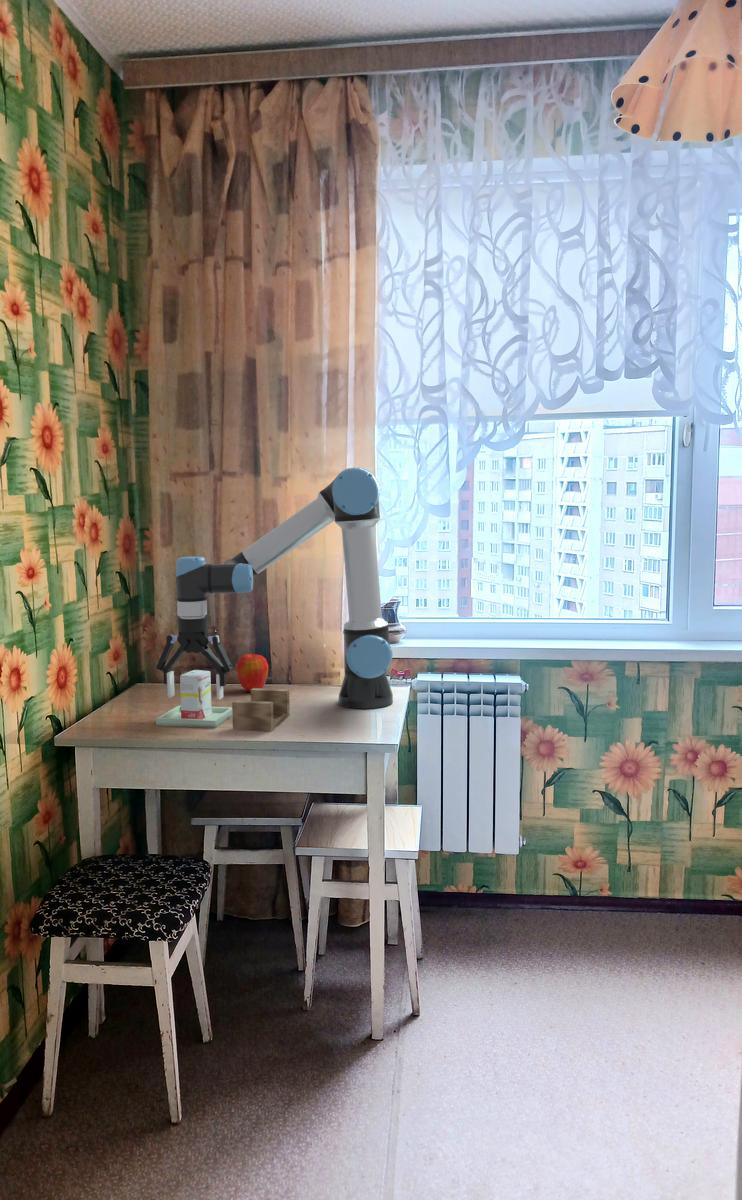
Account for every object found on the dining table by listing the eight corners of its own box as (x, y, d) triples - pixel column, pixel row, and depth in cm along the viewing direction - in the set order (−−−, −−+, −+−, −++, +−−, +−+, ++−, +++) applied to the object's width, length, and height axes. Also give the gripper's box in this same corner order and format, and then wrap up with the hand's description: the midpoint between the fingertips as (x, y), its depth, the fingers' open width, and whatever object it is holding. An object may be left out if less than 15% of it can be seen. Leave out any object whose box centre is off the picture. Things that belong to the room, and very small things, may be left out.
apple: (233, 694, 268) (232, 653, 266) (243, 687, 276) (242, 648, 275) (263, 695, 266) (262, 654, 264) (272, 688, 275) (271, 649, 273)
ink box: (197, 722, 234) (195, 676, 232) (180, 720, 235) (178, 675, 234) (212, 714, 242) (211, 670, 241) (196, 712, 243) (194, 669, 242)
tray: (234, 714, 244) (234, 707, 244) (215, 727, 230) (215, 720, 230) (178, 711, 247) (178, 705, 247) (156, 725, 234) (156, 718, 233)
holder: (289, 715, 242) (289, 689, 241) (271, 731, 226) (270, 703, 226) (253, 713, 244) (253, 688, 243) (232, 729, 228) (232, 702, 228)
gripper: (243, 615, 237) (245, 695, 239) (153, 613, 242) (157, 692, 244) (233, 619, 229) (236, 702, 232) (141, 618, 234) (144, 699, 237)
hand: (195, 697), depth 238 cm, fingers open, 13 cm apart
